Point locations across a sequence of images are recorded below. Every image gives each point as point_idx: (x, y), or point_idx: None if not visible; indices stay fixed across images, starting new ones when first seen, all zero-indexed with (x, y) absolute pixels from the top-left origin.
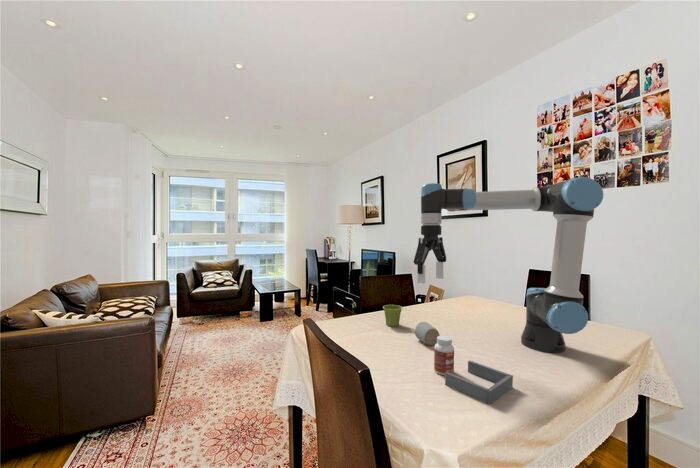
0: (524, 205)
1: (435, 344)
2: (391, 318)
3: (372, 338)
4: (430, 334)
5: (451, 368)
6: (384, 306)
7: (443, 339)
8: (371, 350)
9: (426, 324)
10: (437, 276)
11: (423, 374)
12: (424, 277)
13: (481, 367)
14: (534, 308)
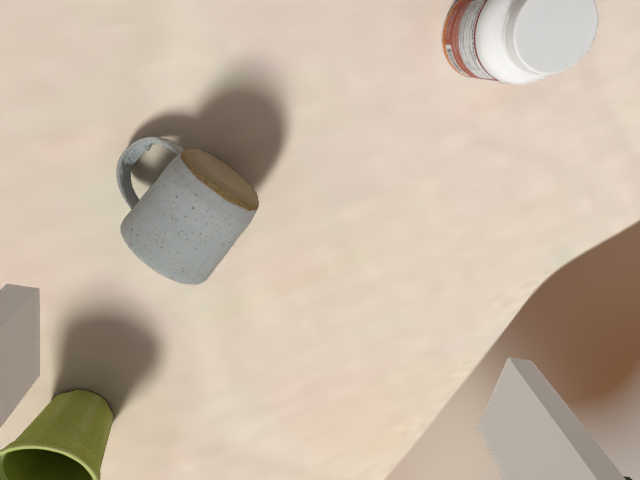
0: None
1: (532, 79)
2: (101, 435)
3: (299, 399)
4: (237, 188)
5: None
6: None
7: (584, 26)
8: (416, 347)
9: (181, 239)
10: (26, 373)
11: (536, 103)
12: (562, 409)
13: None
14: None
